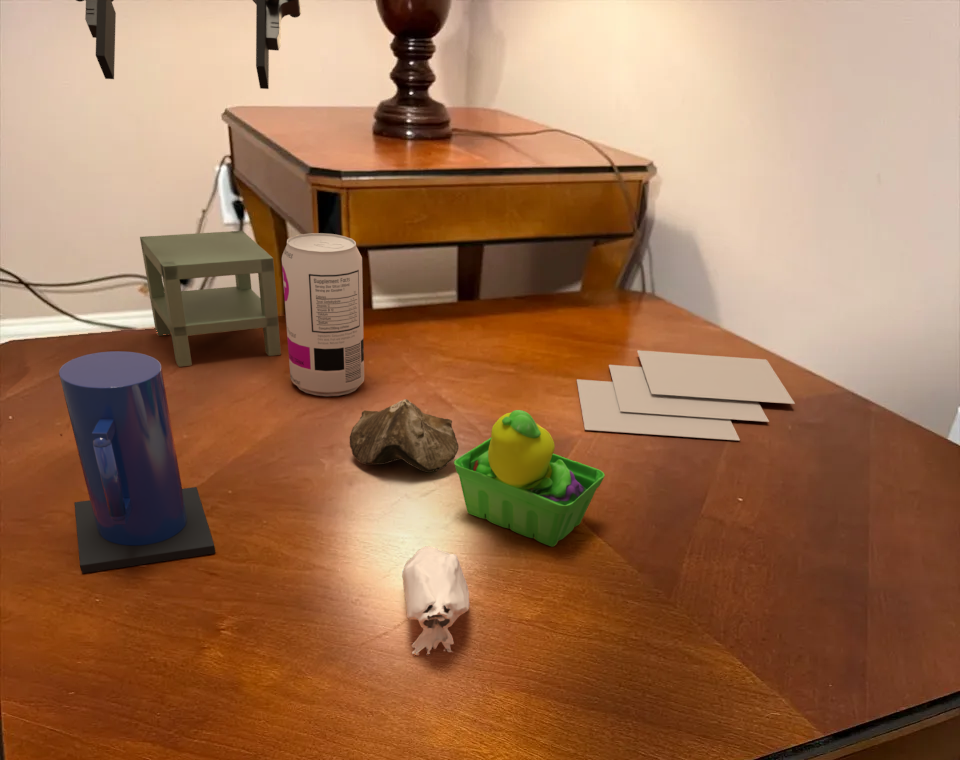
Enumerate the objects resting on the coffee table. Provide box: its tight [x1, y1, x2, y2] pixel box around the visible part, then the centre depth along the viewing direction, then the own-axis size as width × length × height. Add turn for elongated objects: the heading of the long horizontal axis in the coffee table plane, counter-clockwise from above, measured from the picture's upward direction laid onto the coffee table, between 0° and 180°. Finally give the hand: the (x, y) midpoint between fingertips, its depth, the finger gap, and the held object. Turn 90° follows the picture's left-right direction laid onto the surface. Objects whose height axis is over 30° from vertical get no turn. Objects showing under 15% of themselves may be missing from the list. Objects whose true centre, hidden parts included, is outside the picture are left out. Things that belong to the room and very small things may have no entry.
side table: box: [139, 230, 282, 368], centre depth 102 cm, size 12×12×11 cm
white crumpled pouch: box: [401, 545, 470, 656], centre depth 63 cm, size 5×7×10 cm
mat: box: [73, 486, 216, 574], centre depth 71 cm, size 10×10×1 cm
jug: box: [58, 350, 187, 546], centre depth 66 cm, size 10×7×13 cm
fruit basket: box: [453, 409, 606, 548], centre depth 73 cm, size 11×9×11 cm
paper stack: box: [576, 349, 796, 441], centre depth 101 cm, size 23×25×1 cm
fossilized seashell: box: [349, 398, 459, 473], centre depth 83 cm, size 8×7×10 cm
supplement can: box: [281, 232, 365, 397], centre depth 93 cm, size 8×8×15 cm
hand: (184, 73), depth 77 cm, fingers open, 13 cm apart
